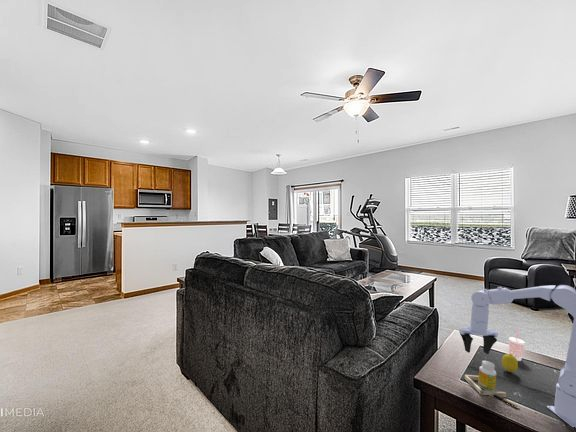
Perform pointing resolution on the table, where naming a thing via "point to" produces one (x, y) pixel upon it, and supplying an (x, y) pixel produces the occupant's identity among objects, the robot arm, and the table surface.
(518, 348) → the beverage cup
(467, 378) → the ash bracket
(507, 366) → the lemon
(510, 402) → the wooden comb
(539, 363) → the table surface
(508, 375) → the table surface
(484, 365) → the supplement bottle
